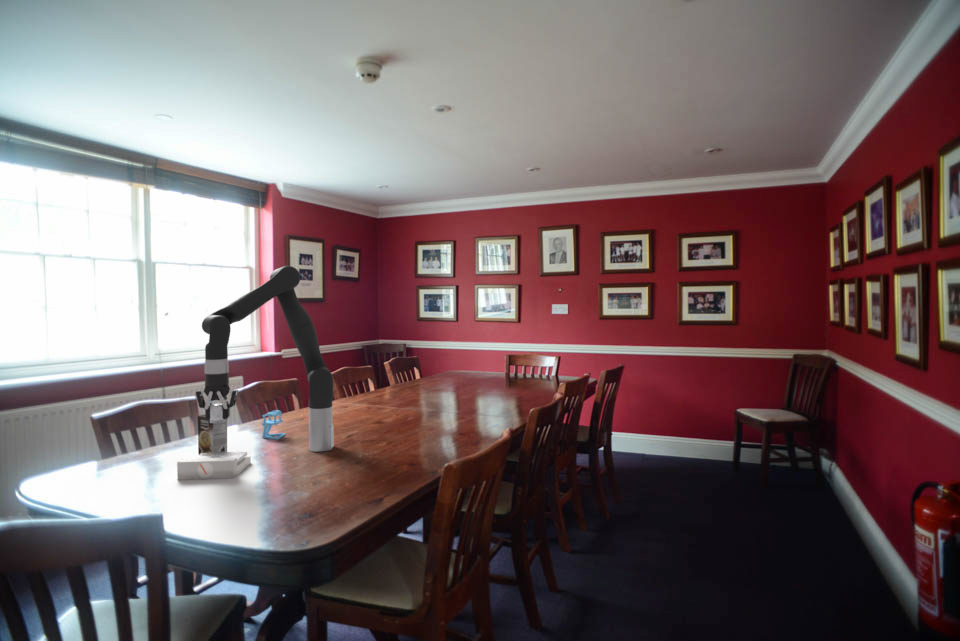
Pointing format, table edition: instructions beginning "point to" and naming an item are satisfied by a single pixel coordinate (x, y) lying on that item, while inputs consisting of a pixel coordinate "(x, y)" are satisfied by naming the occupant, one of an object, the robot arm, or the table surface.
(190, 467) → the scale
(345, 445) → the table surface
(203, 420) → the coffee box
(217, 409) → the small grey jar
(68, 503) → the table surface
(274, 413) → the chair
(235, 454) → the platter
